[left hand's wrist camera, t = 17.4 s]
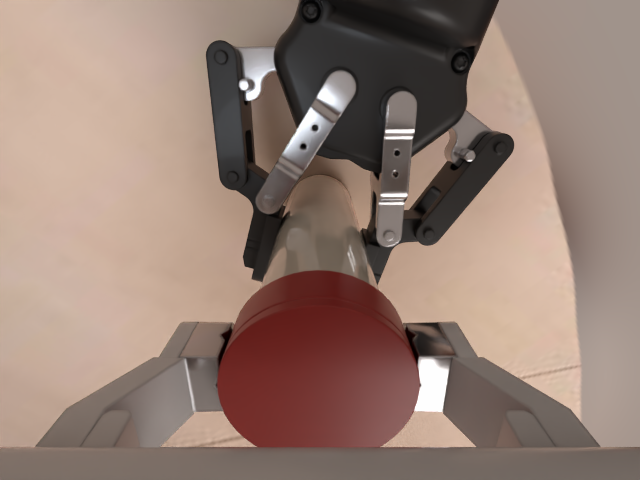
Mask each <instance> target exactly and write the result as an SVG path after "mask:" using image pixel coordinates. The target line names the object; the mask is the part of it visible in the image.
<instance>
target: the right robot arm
mask: <svg viewBox="0 0 640 480" xmlns="http://www.w3.org/2000/svg"><path fill="white" fill-rule="evenodd" d="M498 1H499V0H299V4H298V8H297V12H296V14H295V17H294V19H293V21H292V23H291V24H290V26H289V27H288V29H287V30H286V31H285V32H284V33H283V35H282V36H281V37H280V38H279V40H278V42H277V44H276V46H275V47H234V46H232V45H231V44H229V43H227V42H225V41H222V40H218V41H214V42H213V43H211V44H210V45H209V47H208V49H207V52H206V60H207V69H208V78H209V87H210V96H211V105H212V114H213V123H214V132H215V141H216V150H217V158H218V167H219V176H220V181H221V183H222V184H223V185H224V186H225V187H226V188H228V189H230V190H237V191H238V192H240V193H241V194H243V195H244V196H246V197H247V198H248V199H249V200H250V202H251V203H252V205H253V217H252V221H251V225H250V229H249V234H248V238H247V242H246V247H245V250H244V255H243V259H244V265H245V267H249V268H253V269H254V271H253V275H252V279H253V280H257V281H260V282H262V281H263V278H264V275H265V272H266V268H267V265H268V262H269V259H270V256H271V253H272V250H273V246H274V243H275V240H276V237H277V234H278V231H279V228H280V225H281V222H282V219H283V215H284V212H285V208H286V206H283V203H284V201H285V200H286V198H287V197H288V195H289V194H290V192H291V190H292V189H293V187H294V186H295V184H296V183H297V181H298V180H299V178H300V177H301V176H302V175H303V173H304V172H305V170H306V168H307V167H308V165H309V164H310V162H311V161H312V159H313V158H314V156H315V154H316V155H319V156H323V157H326V158H329V159H348V160H350V161H352V162H354V163H355V164H357V165H358V166H360V167H362V168H363V169H366V170H369V171H371V178H370V181H371V206H370V223H369V225H368V228H367V229H363V228H362V230H361V234H362V237H363V240H364V243H365V247H366V250H367V253H368V257H369V260H370V263H371V266H372V270H373V273H374V276H375V280H376V283H377V285H378V282H379V280H380V278H381V275H382V273H383V270H384V268H385V265H386V263H387V260H388V258H389V255H390V253H391V251H392V249H393V248H394V247H395V246H396V245H398V244H400V243H403V242H417V241H419V243H421V244H422V245H427V246H428V245H433V244H435V243H436V242H437V241H438V240H439V239H440V238H441V237H442V236H443V235H444V233H445V232H446V231H447V230H448V229H449V227H450V226H451V225H452V224H453V223H454V222H455V220H456V219H457V218H458V217H459V216H460V214H461V213H462V212H463V211H464V210H465V208H466V207H467V206H468V205H469V204H470V203H471V201H472V200H473V199H474V198H475V197H476V195H477V194H478V193H479V192H480V191H481V189H482V188H483V187H484V186H485V185H486V184H487V182H488V181H489V180H490V179H491V178H492V176H493V175H494V174H495V173H496V172H497V170H498V169H499V168H500V167H501V166H502V165H503V163H504V162H505V161H506V160H507V159H508V157H509V156H510V155H511V154H512V152H513V149H514V141H513V139H512V138H511V136H509V135H508V134H504V133H500V132H497V131H492V130H491V129H489V128H488V127H487V126H486V125H484V124H483V123H482V122H480V121H479V120H478V119H477V118H475V117H474V116H473V115H471V114H470V113H469V112H468V111H466V106H467V91H466V85H467V77H468V73H469V70H470V67H471V65H472V63H473V61H474V59H475V57H476V55H477V52H478V50H479V48H480V45H481V43H482V40H483V38H484V36H485V33H486V31H487V28H488V26H489V23H490V21H491V18H492V16H493V14H494V11H495V8H496V6H497V4H498ZM273 73H277V75H278V78H279V81H280V83H281V86H282V89H283V92H284V94H285V97H286V100H287V103H288V105H289V108H290V111H291V114H292V117H293V119H294V122H295V125H296V128H297V130H296V131H295V133H294V135H293V136H292V138H291V139H290V141H289V143H288V144H287V146H286V148H285V149H284V151H283V153H282V154H281V156H280V158H279V159H278V161H277V163H276V164H275V166H274V168H273V169H272V171H271V173H270V174H268V173H267V172H266V171H264V170H263V169H261V168H260V167H259V166H257V165H256V164H255V152H254V138H253V125H252V111H251V101H253V100H257V99H259V98H260V97H261V96H262V94H263V92H264V86H265V82H266V79H267V78H268V77H269V76H270V75H271V74H273ZM447 131H449V133H450V139H449V142H448V144H447V146H446V148H445V158H446V159H447V162H446V164H445V165H444V166H443V167H442V169H441V170H440V171H439V172H438V174H437V175H436V176H435V178H434V179H433V180H432V181H431V183H430V184H429V185H428V186H427V188H426V189H425V190H424V192H423V193H422V194H421V195H420V197H419V198H418V199H417V201H416V202H415V203H414V204H413V206H412V207H411V208H410V209H409V210H404V203H405V200H406V199H407V196H408V188H409V176H410V164H411V157H412V156H414V155H415V154H417V153H418V152H419V151H421V150H422V149H423V148H425V147H426V146H428V145H429V144H430V143H432V142H433V141H434V140H436V139H437V138H439V137H440V136H441V135H443V134H444V133H445V132H447Z"/></svg>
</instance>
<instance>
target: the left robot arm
mask: <svg viewBox="0 0 640 480" xmlns="http://www.w3.org/2000/svg"><path fill="white" fill-rule="evenodd" d="M403 327H404V330H405V332H406V335H407V338H408V341H409V343H410V346H411V349H412V352H413V354H414V357H415V360H416V363H417V366H418V369H419V376H420V392H419V397H418V401H417V404H416V407H415V410H414V411H430V412H443V414H444V415H445V416H446V417H447V418H448V419H449V420H450V421H451V422H452V423H453V424H454V425H455V426H456V427H457V428H458V429H459V430H460V431H461V432H462V433H463V434H464V435H465V436H466V437H467V438H468V439H469V440H470V441H471V442H472V443H473V444H474V445H475V446H476V447H160V446H161V445H162V444H163V443H164V442H165V441H166V440H167V439H169V438H170V437H171V436H172V435H173V434H174V433H175V432H176V431H177V430H178V429H179V428H180V427H181V426H182V425H183V424H184V423H185V422H186V421H187V420H188V419H189V418H190V417H191V416H192V415H193V414H194V412H206V411H223V409H222V407H221V404H220V400H219V396H218V390H217V377H218V370H219V366H220V363H221V360H222V357H223V354H224V352H225V349H226V346H227V344H228V341H229V339H230V336H231V333H232V331H233V328H234V323H229V322H182V323H180V324H179V326H178V327H177V329H176V331H175V332H174V334H173V335H172V337H171V339H170V340H169V342H168V343H167V345H166V346H165V348H164V350H163V351H162V353H161V354H160V356H159V357H155V358H152V359H150V360H148V361H147V362H145V363H143V364H141V365H140V366H138V367H136V368H135V369H133V370H131V371H130V372H128V373H126V374H124V375H123V376H121V377H119V378H118V379H116V380H114V381H113V382H111V383H109V384H107V385H106V386H104V387H102V388H101V389H99V390H97V391H96V392H94V393H92V394H90V395H89V396H87V397H85V398H84V399H82V400H80V401H79V402H77V403H75V404H74V405H72V406H70V407H68V408H67V409H66V410H65V411H64V412H63V413H62V415H61V416H60V417H59V418H58V419H57V421H56V422H55V423H54V424H53V426H52V427H51V428H50V429H49V430H48V432H47V433H46V434H45V435H44V436H43V438H42V439H41V440H40V441H39V443H38V444H37V445H36V446H35V447H0V480H640V447H600V445H599V444H598V443H597V442H596V440H595V439H594V438H593V437H592V435H591V434H590V433H589V432H588V430H587V429H586V428H585V427H584V426H583V424H582V423H581V422H580V421H579V419H578V418H577V417H576V416H575V414H574V413H573V412H572V411H571V409H569V408H567V407H566V406H564V405H562V404H561V403H559V402H557V401H556V400H554V399H552V398H551V397H549V396H547V395H546V394H544V393H542V392H541V391H539V390H537V389H535V388H534V387H532V386H530V385H529V384H527V383H525V382H524V381H522V380H520V379H519V378H517V377H515V376H514V375H512V374H510V373H509V372H507V371H505V370H504V369H502V368H500V367H499V366H497V365H495V364H494V363H492V362H490V361H488V360H487V359H485V358H482V357H478V356H477V355H476V353H475V352H474V350H473V348H472V347H471V345H470V344H469V342H468V340H467V339H466V337H465V336H464V334H463V332H462V331H461V329H460V327H459V326H458V324H457V323H456V322H437V323H403Z"/></svg>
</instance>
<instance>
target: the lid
mask: <svg viewBox="0 0 640 480" xmlns="http://www.w3.org/2000/svg"><path fill="white" fill-rule="evenodd" d="M217 390H218V396H219V400H220V404H221V407H222V409H223V411H224V414H225V415H226V417H227V418H228V420H229V422H230V423H231V424H232V426H233V427H234V428H235V429H236V430H237V431H238V432H239V433H240V434H241V435H242V436H243V437H244V438H245V439H247V440H248V441H249V442H251V443H252V444H253V445H255V446H257V447H380V446H382V445H384V444H385V443H387V442H388V441H389V440H390V439H392V438H393V437H394V436H395V435H396V434H397V433H398V432H399V431H400V430H401V429H402V428H403V427H404V426H405V424H406V423H407V422H408V421H409V419H410V417H411V415H412V414H413V412H414V410H415V407H416V404H417V401H418V397H419V392H420V376H419V369H418V366H417V363H416V360H415V357H414V354H413V352H412V349H411V346H410V343H409V341H408V338H407V335H406V332H405V330H404V327H403V324H402V322H401V319H400V317H399V315H398V313H397V311H396V309H395V308H394V306H393V305H392V303H391V302H390V301H389V300H388V299H387V298H386V297H385V296H384V295H383V294H382V293H381V292H380V291H379V290H377V289H376V288H375V287H374V286H372V285H370V284H368V283H367V282H365V281H363V280H361V279H358V278H356V277H354V276H351V275H348V274H344V273H340V272H335V271H325V270H312V271H303V272H298V273H293V274H290V275H287V276H284V277H281V278H279V279H276V280H275V281H272V282H270V283H269V284H267V285H266V286H264V287H263V288H261V289H260V290H259V291H257V292H256V293H255V294H254V295H253V296H252V297H251V298H250V299H249V300H248V301H247V303H246V304H245V305H244V307H243V308H242V310H241V311H240V313H239V316H238V318H237V320H236V323H235V325H234V328H233V331H232V333H231V336H230V339H229V341H228V344H227V346H226V349H225V352H224V354H223V357H222V360H221V363H220V366H219V370H218V377H217Z"/></svg>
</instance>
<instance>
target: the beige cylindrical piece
mask: <svg viewBox="0 0 640 480" xmlns="http://www.w3.org/2000/svg"><path fill="white" fill-rule="evenodd" d="M312 270H325V271H335V272H340V273H344V274H348V275H351V276H354V277H356V278H358V279H361V280H363V281H365V282H367V283H368V284H370V285H372V286H374V287H375V288H376V289H377V290H378V286H377V283H376V280H375V276H374V273H373V270H372V266H371V263H370V260H369V257H368V253H367V250H366V247H365V243H364V240H363V237H362V234H361V230H360V227H359V224H358V220H357V217H356V214H355V211H354V207H353V204H352V201H351V197H350V195H349V192H348V191H347V189H346V188H345V186H344V185H343V184H342V183H341V182H339V181H338V180H337V179H335V178H333V177H330V176H326V175H314V176H310V177H307V178H305V179H303V180H301V181H300V182H299V183H298V184H297V185H296V186H295V187H294V188H293V190H292V192H291V194H290V196H289V199H288V203H287V206H286V209H285V212H284V215H283V219H282V222H281V225H280V228H279V231H278V234H277V237H276V240H275V243H274V246H273V250H272V253H271V256H270V259H269V262H268V265H267V268H266V272H265V275H264V278H263V281H262V284H261V287H260V289H261V288H263V287H264V286H266V285H267V284H269V283H270V282H272V281H275V280H276V279H279V278H281V277H284V276H287V275H290V274H293V273H298V272H303V271H312Z"/></svg>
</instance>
